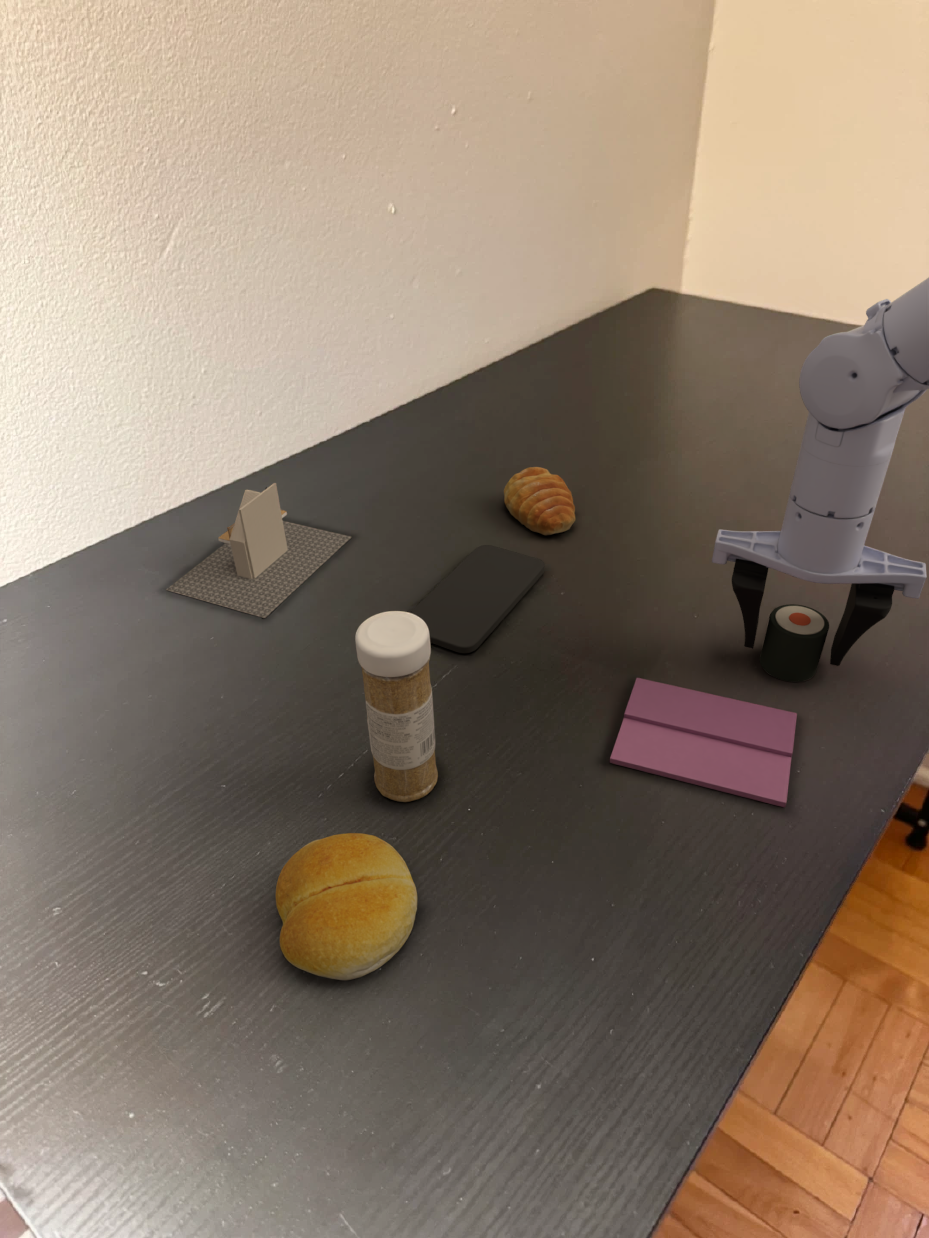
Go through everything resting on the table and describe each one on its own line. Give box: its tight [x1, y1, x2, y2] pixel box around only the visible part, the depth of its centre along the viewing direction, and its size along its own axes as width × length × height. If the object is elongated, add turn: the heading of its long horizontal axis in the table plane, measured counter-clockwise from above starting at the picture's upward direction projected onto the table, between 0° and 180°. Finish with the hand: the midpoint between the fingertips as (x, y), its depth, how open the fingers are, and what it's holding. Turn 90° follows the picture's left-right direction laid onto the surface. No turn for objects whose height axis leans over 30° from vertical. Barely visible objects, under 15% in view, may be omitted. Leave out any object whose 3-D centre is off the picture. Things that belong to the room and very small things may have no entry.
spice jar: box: [354, 610, 439, 803], centre depth 55 cm, size 5×5×13 cm
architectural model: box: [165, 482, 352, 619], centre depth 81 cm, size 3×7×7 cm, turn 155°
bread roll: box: [275, 832, 418, 981], centre depth 50 cm, size 8×9×4 cm
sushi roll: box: [759, 603, 830, 683], centre depth 67 cm, size 4×4×5 cm
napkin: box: [609, 677, 798, 808], centre depth 61 cm, size 12×9×1 cm
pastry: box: [503, 466, 576, 536], centre depth 87 cm, size 9×7×4 cm
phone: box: [409, 544, 546, 654], centre depth 76 cm, size 7×1×15 cm
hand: (791, 649), depth 67 cm, fingers open, 6 cm apart
